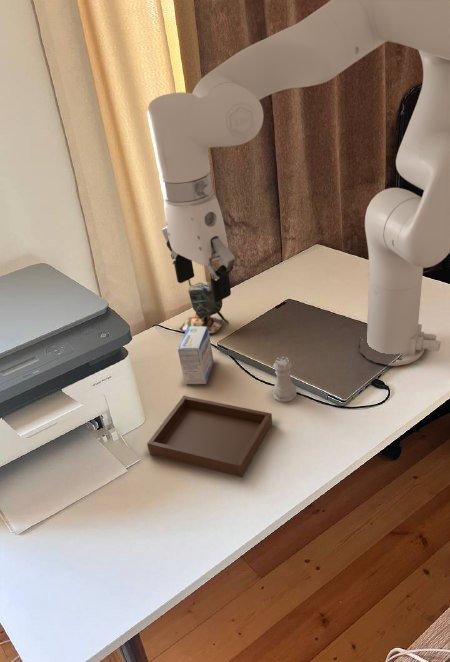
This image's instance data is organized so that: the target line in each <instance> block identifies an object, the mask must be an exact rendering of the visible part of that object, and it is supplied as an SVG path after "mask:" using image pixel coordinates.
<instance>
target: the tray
mask: <svg viewBox="0 0 450 662" xmlns="http://www.w3.org/2000/svg"><path fill="white" fill-rule="evenodd" d="M272 415H273V414H272V413H271V412H267V411H261V410H257V409H252V408H246V407H242V406H236V405H232V404H227V403H222V402H217V401H212V400H207V399H202V398H196V397H191V396H188V395H183V396H182V397H181V398H180V400H179V401H178V402H177V403H176V405H175V406H174V407H173V409H172V410H171V411H170V413H169V414H168V415H167V416H166V418H165V419H164V420H163V422H162V423H161V424H160V426H159V427H158V428H157V430H156V431H155V433H153V435H152V436H151V438H150V439H149V440H148V441H147V443H146V444H147V449H148V452H149V455H151V456H155V457H159V458H164V459H168V460H171V461H175V462H179V463H184V464H188V465H192V466H196V467H199V468H203V469H206V470H207V469H208V470H212V471H215V472H220V473H223V474H227V475H232V476H236V477H238V478H239V477H240V478H243V476H244V475H245V474H246V471H247V470H248V469H249V466H250V464H251V463H252V461H253V459H254V457H255V456H256V454H257V452H258V451H259V448H260V447H261V446H262V443H263V442H264V440H265V438H266V437H267V435H268V433H269V431H270V430H271V428H272V426H273V425H274V424H273V416H272Z"/></svg>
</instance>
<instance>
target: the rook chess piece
mask: <svg viewBox="0 0 450 662" xmlns="http://www.w3.org/2000/svg"><path fill="white" fill-rule="evenodd" d="M292 366H293V365H292V362H291V361H290V359H289V358H288V357H287V356H286V357H285V356H281V358H280V357H277V358H276V360H274V363H273V369H275V371H274V372H275V375H276V381H275V383H274V385H273V387H272V396H273V398H274V399H275V400H276V401H278V402H279V403H280V402H281V403H288V402H291V401H292V400H294V399H295V398H296V396H297V388H296V385H295V384H294V382H293V381H292V378H291V372H292V371H291V368H292Z"/></svg>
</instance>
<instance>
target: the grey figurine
mask: <svg viewBox="0 0 450 662" xmlns="http://www.w3.org/2000/svg"><path fill="white" fill-rule="evenodd" d="M174 261H175V260H172V263H171V265H174ZM187 282H188V286H189V287H188V290H187V292H188V295H189V299H190V302H191V305H192V309H193V311H194V314H193V316H191V317H187V318H186V320H185V321H184V322H183V323H182V325H181V326H180V327H179V330H180V331H183V332H184V333H185V332H186V329H187V327H192V326H202V327H208V330H209V334H215V333H217V332H218V331H220V329H221V327H222V326H224V324H223V323H224V322H225V323H226V324H227V325H230V321H229V320H228V319H226V318H225V317H224V315H223V313H222V312H221V310H222V308H223V299H222V300H221V301H219V302H215V301H214V300H213V294H212V287H211V282H209V281H203V282H201V281H200V282H196V283H195V284H191V279H189V280H187ZM216 314H217V315H218V316H219V317H220V318H217V317H215V316H213V315H216Z"/></svg>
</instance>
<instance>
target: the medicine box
mask: <svg viewBox="0 0 450 662" xmlns="http://www.w3.org/2000/svg"><path fill="white" fill-rule="evenodd" d="M210 337H211V336H210V333H209V330H208V327H202V326H192V327H187V329H186V332H185V331H184V334H183V337H182V339H181V340H180V343H179V346H178V348H177V354H178V358H179V363H180V368H181V372H182V373H181V374H182V377H183V382H184V384H185V385H206V384H207V382H208V379H209V377H210V373H211V370H212V367H213V364H214V362H215V360H214V354H213V349H212V348H213V347H212V342H211V338H210Z"/></svg>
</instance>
